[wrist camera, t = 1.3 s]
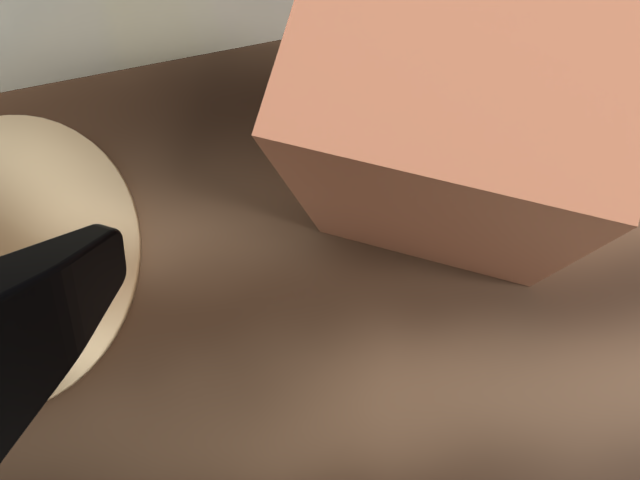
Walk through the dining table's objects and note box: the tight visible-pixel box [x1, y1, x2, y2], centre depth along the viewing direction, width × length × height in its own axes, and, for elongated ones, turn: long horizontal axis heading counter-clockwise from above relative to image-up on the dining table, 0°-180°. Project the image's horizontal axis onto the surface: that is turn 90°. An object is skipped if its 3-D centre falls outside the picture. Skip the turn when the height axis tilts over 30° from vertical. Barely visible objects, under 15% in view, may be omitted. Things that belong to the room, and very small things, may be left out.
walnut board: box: [0, 40, 640, 480], centre depth 19 cm, size 18×28×5 cm, turn 97°
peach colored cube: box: [251, 0, 640, 287], centre depth 14 cm, size 6×6×8 cm
